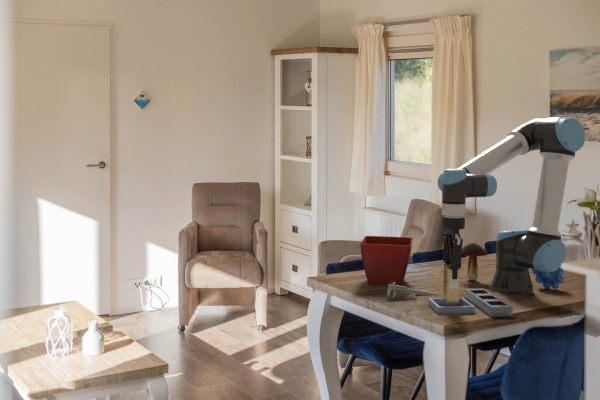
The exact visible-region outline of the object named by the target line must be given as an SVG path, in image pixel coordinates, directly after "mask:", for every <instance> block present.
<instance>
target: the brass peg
mask: <svg viewBox="0 0 600 400" xmlns="http://www.w3.org/2000/svg"><path fill="white" fill-rule="evenodd" d="M450 267H451V264H445V263H443V289H442V290H443V291H442V293H443V295H442V298H443V300H445V301H446V302H459V298H460V271H461V270H460V269H461V268H459V269H458V289H449V275H450V269H449V268H450Z"/></svg>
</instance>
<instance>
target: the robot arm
mask: <svg viewBox="0 0 600 400" xmlns="http://www.w3.org/2000/svg"><path fill="white" fill-rule="evenodd" d="M585 131H586V130H585V127H584V126H583V125H582V123H581V121H579V120H578V119H577V118H576V117H570V116H553V117H551V116H550V117H542V116H541V117H537V118H534V119H531V120H530V121H527V122H526V123H523V124H521V125H520V126H518V127H516V128H514V129H513V130H511V131H509V133H508V134H507V136H506V138H504V139H502V140H501V141H499V142H498V143H496V144H495V145H493V146H491V147H489V148H488V149H486V150H485V151H483V152H482V153H480V154H478V155H477V156H475V157H474V158H472V159H470V160H469V161H468V162H465V163H464V164H462V165H461V166H459V167H458V168H445V169H444V170H443V172H441V174H439V176H438V178H437V187H438V189H439V190H440V191H441V206H440V209H441V215H442V217H441V220H440V221H441V222H440V223H441V225H440V226H441V228H442V229H443V230H445V232H443V234H442V236H443V247H442V248H443V249H442V250H443V252H442V253H443V255H442V260H443V261H442V262H443V263H444V264H451V267H450V268H449V269H450V275H449V289H458V269H459V268H460V269H461V268H462V256H463V255H462V249H463V242H464V240H463V238H461V234H460V230H464V229H465V228H466V218H465V216H466V200H467V198H468V199H469V198H486V197H493V196H494V195H495V194H496V192H497V190H498V181H497V179H496V178H495V176H494V175H492V174H491V173H492V172H494V171H496V170H497V169H499V168H500V167H502V166H503V165H505V164H507V163H509V162H510V161H511V160H513V159H514V158H516V157H517V156H519V155H520V156H524V155H526V154H528V153H529V152H534V151H538V150H539V154H540V156H541V158H542V164H541V171H540V177H539V181H538V182H539V183H538V189H537V194H536V195H537V197H536V201H535V207H534V214H533V220H532V225H531V226H530V227H528V228H527V229H510V230H509V229H508V230H506V229H505V230H501V231H498V232H497V236H496V242H495V243H496V244H495V245H496V247H495V248H496V250H495V251H496V253H495V254H496V255H495V256H496V257H495V259H496V260H495V272H494V275H493V276H492V280H491V282H490V289H489V290H490V292H491V293H503V294H511V295H512V294H514V295H524V294H525V295H527V296H530V295H533V294H534V286H533V282H532V279H531V275H530V270H529V269H531V270H532V269H535V270H537V271H544V272H553V271H555V270H557V269H558V268H559V267H560V268H561V267H562V265H561V263H563V264H564V262H565V260H566V257H567V248H566V245H565V243H564V242H563V241H562V233H561V232H560V231H559V226H560V225H559V224H560V220H561V219H560V218H561V213H562V207H563V201H564V196H565V188H566V182H567V176H568V171H569V165H570V164H569V163H570V162H571V161H573V159H575V157H576V152H578V151H580V150H581V149H582V147H583V146H584V145H585V141H586V132H585Z"/></svg>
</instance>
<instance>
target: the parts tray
mask: <svg viewBox="0 0 600 400" xmlns="http://www.w3.org/2000/svg"><path fill="white" fill-rule="evenodd" d="M427 304H428V306H429V307H430V308H431V309H433V311H435V312H436V313H437V314H438V315H439V314H442V315H443V314H446V315H447V314H475V313H476V312H475V311H476V307H475V306H476V305H474V304H473V303H472V302H470V301H469V300H468V299H466V298H465V297H459V302H446V301H445V300H443V297H438V298H433V297H432V298H429V297H428V302H427ZM447 305H448V306H447ZM449 305H451V306H449ZM452 305H455V306H452ZM456 305H459V306H456ZM460 305H461V306H460Z"/></svg>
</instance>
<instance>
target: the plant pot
mask: <svg viewBox="0 0 600 400" xmlns="http://www.w3.org/2000/svg"><path fill="white" fill-rule="evenodd" d="M413 240H414V239H413V237H411V236H410V237H408V236H407V237H405V236H404V237H403V236H385V235H384V236H383V235H380V236H379V235H365V236H364V237H363V238H362V240H361V242H360V243H359V244H360V254H361V255H360V256H361V259H362V265H363V270H364V273H365V278H366V281H367V284H368V285H369V286H370V285H371V286H384V287H385V286H386V287H388V285H389V284H391V281H392V283H394V282H395V285H399V286H403V283H404V281H405V277H406V273H407V271H408V267H409V261H410V257H411V253H412V246H413Z"/></svg>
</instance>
